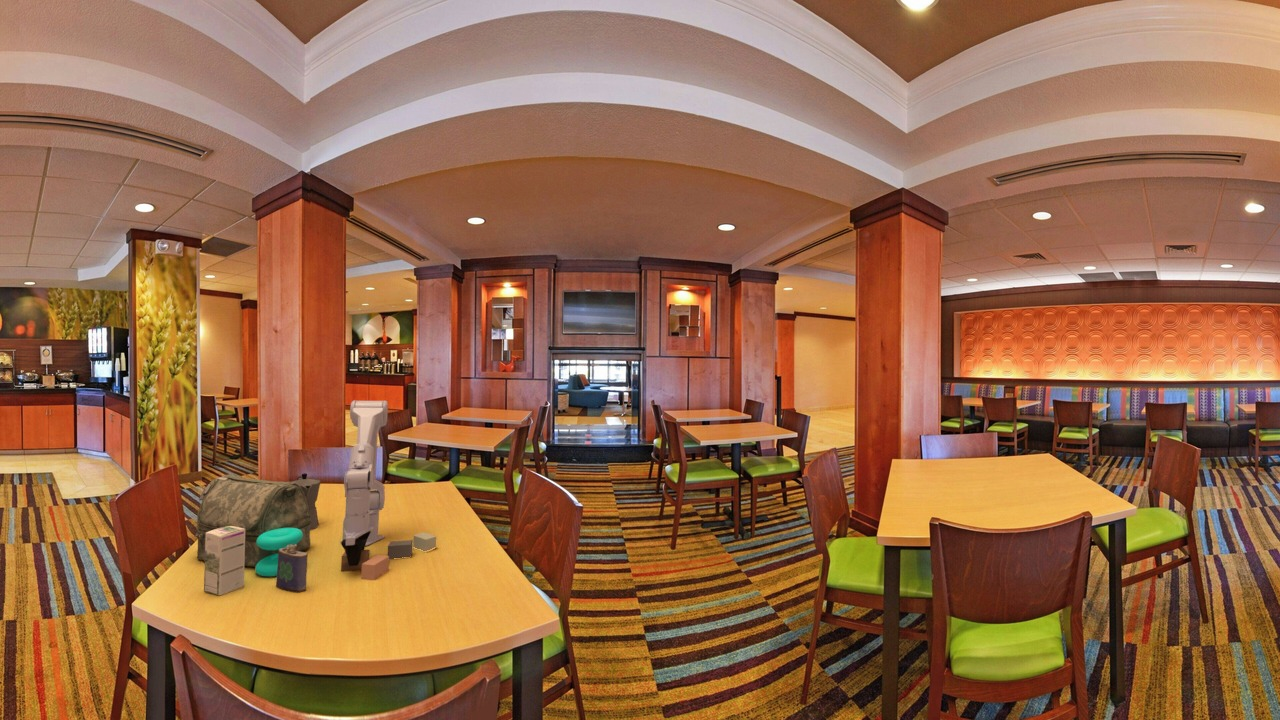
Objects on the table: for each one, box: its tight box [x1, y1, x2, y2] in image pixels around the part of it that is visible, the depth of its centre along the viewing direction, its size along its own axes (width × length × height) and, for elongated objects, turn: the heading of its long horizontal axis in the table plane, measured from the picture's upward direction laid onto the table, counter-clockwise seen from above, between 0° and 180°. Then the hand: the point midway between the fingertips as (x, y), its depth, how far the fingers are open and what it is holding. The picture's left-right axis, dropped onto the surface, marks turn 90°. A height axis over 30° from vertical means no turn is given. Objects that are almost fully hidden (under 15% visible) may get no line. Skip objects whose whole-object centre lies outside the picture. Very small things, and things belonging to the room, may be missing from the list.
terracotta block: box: [360, 554, 390, 581], centre depth 129 cm, size 6×4×4 cm, turn 172°
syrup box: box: [203, 526, 245, 596], centre depth 118 cm, size 6×6×14 cm
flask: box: [275, 544, 308, 593], centre depth 120 cm, size 9×3×11 cm, turn 68°
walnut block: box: [340, 548, 371, 572], centre depth 132 cm, size 6×4×4 cm, turn 108°
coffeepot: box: [291, 473, 322, 531], centre depth 161 cm, size 15×9×18 cm, turn 44°
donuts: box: [254, 528, 303, 577], centre depth 129 cm, size 10×10×10 cm
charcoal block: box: [386, 539, 413, 560], centre depth 141 cm, size 6×4×4 cm, turn 108°
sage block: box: [412, 531, 437, 551], centre depth 147 cm, size 6×4×4 cm, turn 59°
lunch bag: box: [194, 473, 312, 567], centre depth 138 cm, size 26×18×22 cm
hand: (355, 562), depth 132 cm, fingers closed on walnut block, 3 cm apart
